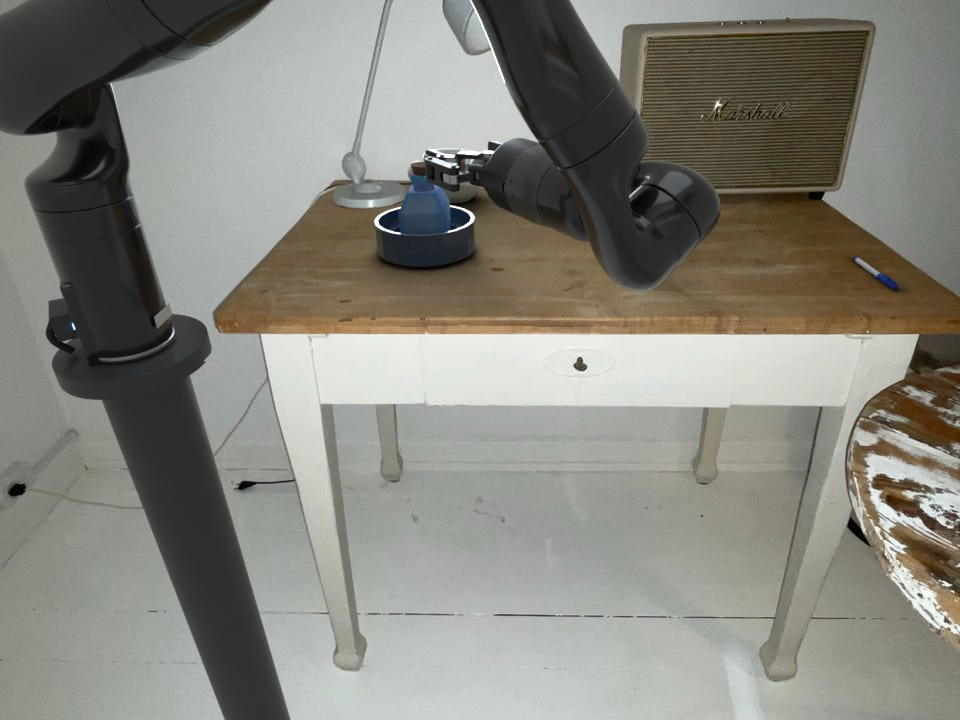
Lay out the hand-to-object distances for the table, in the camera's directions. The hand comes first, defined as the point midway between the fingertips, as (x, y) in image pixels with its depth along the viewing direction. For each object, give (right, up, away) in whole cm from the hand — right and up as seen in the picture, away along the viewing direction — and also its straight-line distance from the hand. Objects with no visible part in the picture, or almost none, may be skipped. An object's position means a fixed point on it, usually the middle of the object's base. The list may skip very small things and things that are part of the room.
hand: (459, 153), depth 76 cm
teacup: (-4, +4, +39) cm, 40 cm away
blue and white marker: (+54, -14, +7) cm, 56 cm away
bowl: (-5, -9, +16) cm, 19 cm away
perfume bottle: (-5, -9, +16) cm, 19 cm away
